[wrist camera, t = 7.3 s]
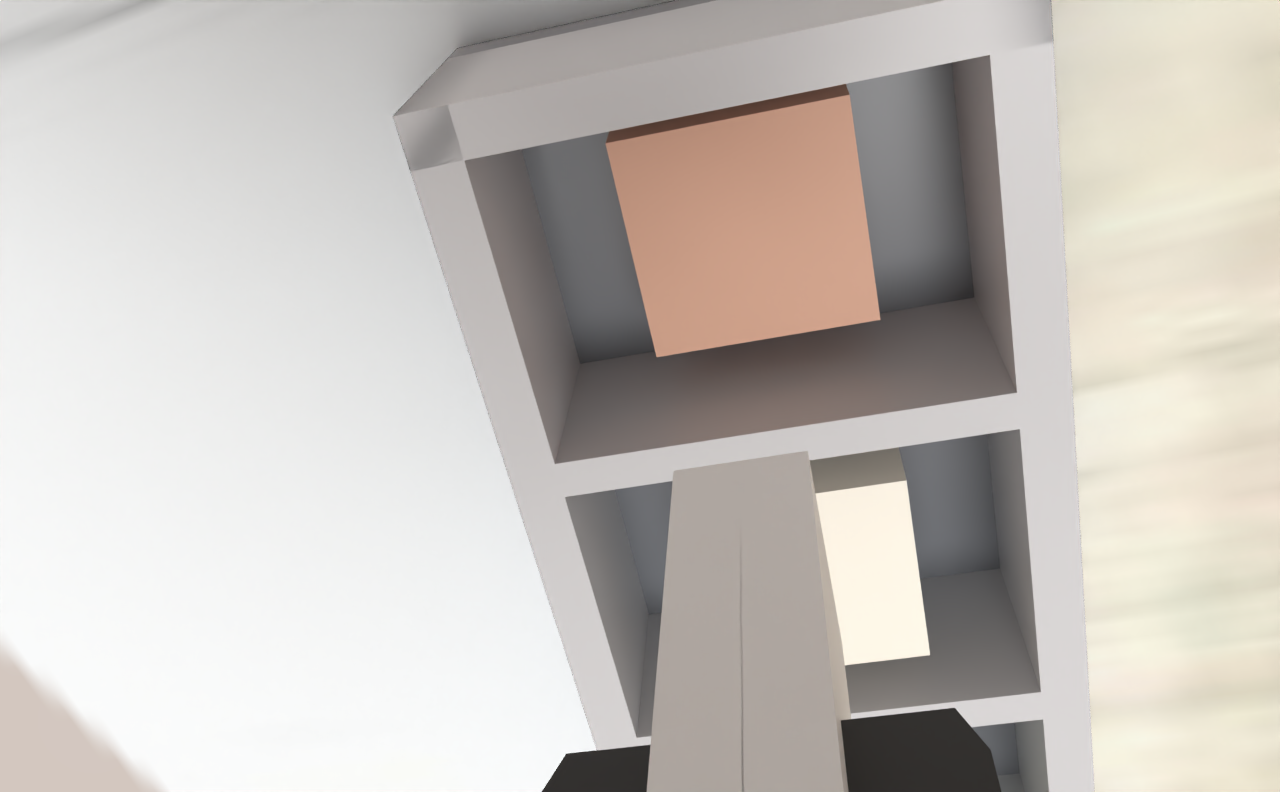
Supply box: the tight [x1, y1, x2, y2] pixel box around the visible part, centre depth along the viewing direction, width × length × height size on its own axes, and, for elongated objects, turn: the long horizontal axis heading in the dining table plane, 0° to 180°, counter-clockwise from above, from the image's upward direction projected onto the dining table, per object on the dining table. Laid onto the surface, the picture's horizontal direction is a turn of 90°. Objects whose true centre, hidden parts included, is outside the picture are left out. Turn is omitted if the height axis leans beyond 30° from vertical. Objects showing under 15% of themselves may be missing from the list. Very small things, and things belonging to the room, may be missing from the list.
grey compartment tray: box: [393, 0, 1095, 792], centre depth 27 cm, size 23×11×5 cm, turn 13°
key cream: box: [810, 447, 930, 665], centre depth 26 cm, size 5×5×2 cm
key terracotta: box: [605, 84, 880, 357], centre depth 24 cm, size 5×5×2 cm
